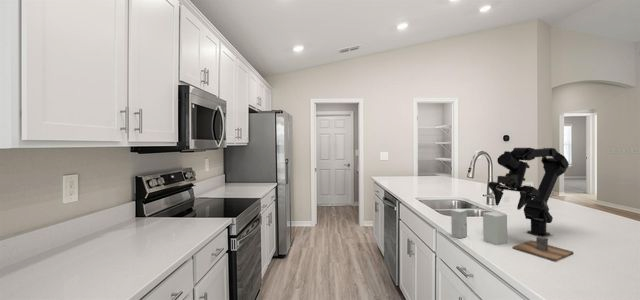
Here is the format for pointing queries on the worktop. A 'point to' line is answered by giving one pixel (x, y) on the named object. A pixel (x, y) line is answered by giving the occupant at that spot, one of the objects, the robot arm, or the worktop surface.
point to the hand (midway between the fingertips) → (507, 207)
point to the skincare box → (459, 223)
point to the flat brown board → (543, 249)
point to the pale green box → (495, 228)
